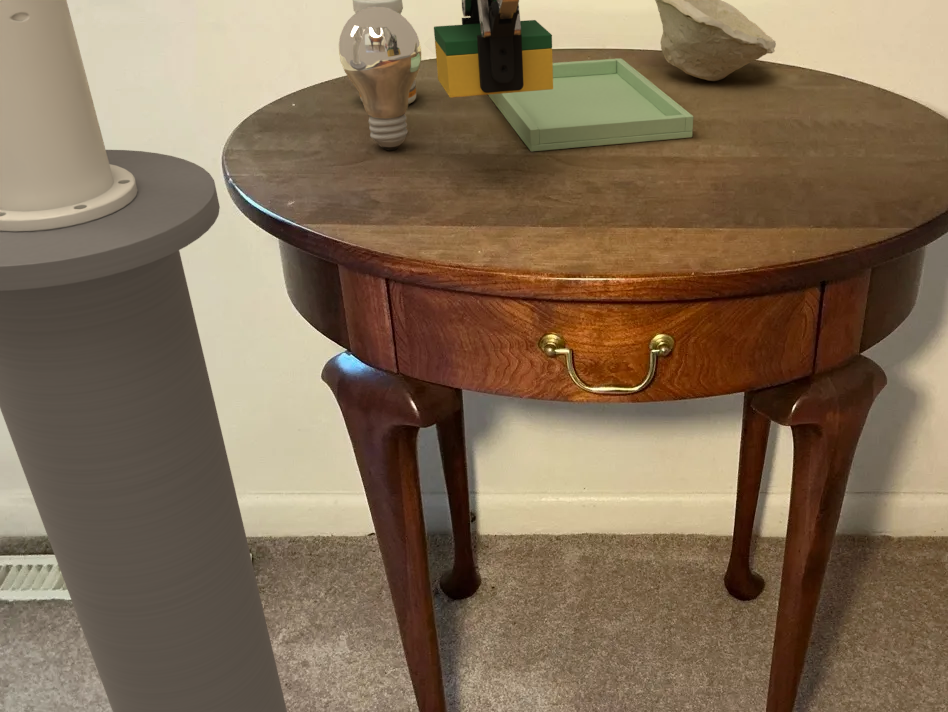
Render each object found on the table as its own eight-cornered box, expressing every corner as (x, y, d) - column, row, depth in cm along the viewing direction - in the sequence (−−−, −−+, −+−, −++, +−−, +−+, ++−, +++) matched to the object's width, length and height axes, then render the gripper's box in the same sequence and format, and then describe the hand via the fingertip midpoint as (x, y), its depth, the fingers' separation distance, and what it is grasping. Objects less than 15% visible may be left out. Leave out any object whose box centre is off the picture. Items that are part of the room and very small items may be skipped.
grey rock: (781, 98, 110) (792, -5, 104) (647, 96, 109) (650, -7, 104) (763, 61, 122) (772, -33, 116) (643, 59, 122) (646, -35, 116)
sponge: (449, 97, 78) (445, 41, 76) (438, 80, 82) (433, 26, 80) (553, 89, 80) (552, 34, 78) (537, 72, 84) (535, 19, 82)
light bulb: (445, 145, 96) (434, 5, 89) (392, 167, 91) (377, 20, 84) (388, 132, 99) (374, -5, 92) (334, 151, 94) (315, 9, 87)
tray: (530, 151, 95) (530, 129, 94) (481, 86, 112) (480, 67, 110) (692, 137, 99) (693, 116, 97) (621, 76, 116) (621, 58, 114)
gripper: (403, -203, 76) (427, 56, 87) (445, -188, 63) (467, 116, 73) (504, -205, 78) (515, 50, 89) (565, -190, 65) (570, 107, 75)
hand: (493, 77), depth 81 cm, fingers closed on sponge, 5 cm apart
